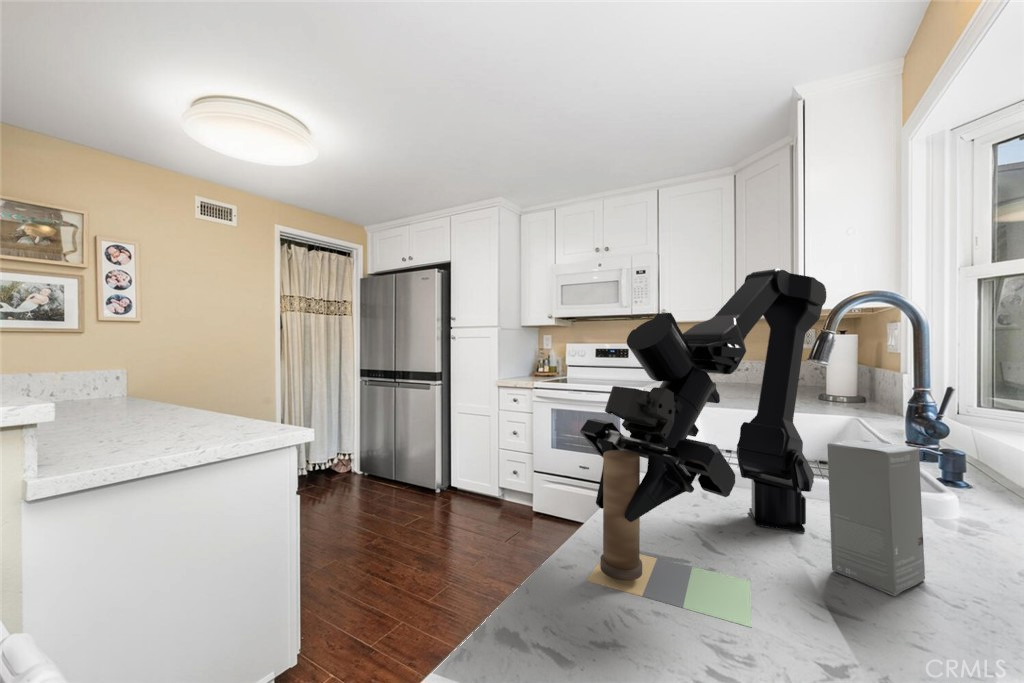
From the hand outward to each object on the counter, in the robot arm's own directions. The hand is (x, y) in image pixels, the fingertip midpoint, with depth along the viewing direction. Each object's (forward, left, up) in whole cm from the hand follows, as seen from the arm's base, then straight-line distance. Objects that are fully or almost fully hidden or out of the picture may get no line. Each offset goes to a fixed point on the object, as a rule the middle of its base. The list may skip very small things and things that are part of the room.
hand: (612, 512), depth 47 cm
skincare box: (+29, +16, -9) cm, 34 cm away
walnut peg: (+1, +1, -7) cm, 7 cm away
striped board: (+6, +3, -9) cm, 11 cm away
